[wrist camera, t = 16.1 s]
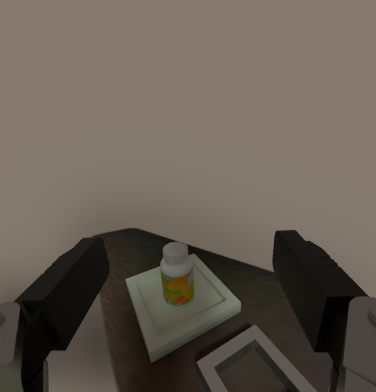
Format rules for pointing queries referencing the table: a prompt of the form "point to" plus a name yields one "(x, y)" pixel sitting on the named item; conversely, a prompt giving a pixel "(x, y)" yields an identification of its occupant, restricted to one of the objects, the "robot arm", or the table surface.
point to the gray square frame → (240, 347)
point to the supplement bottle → (177, 275)
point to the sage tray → (179, 309)
